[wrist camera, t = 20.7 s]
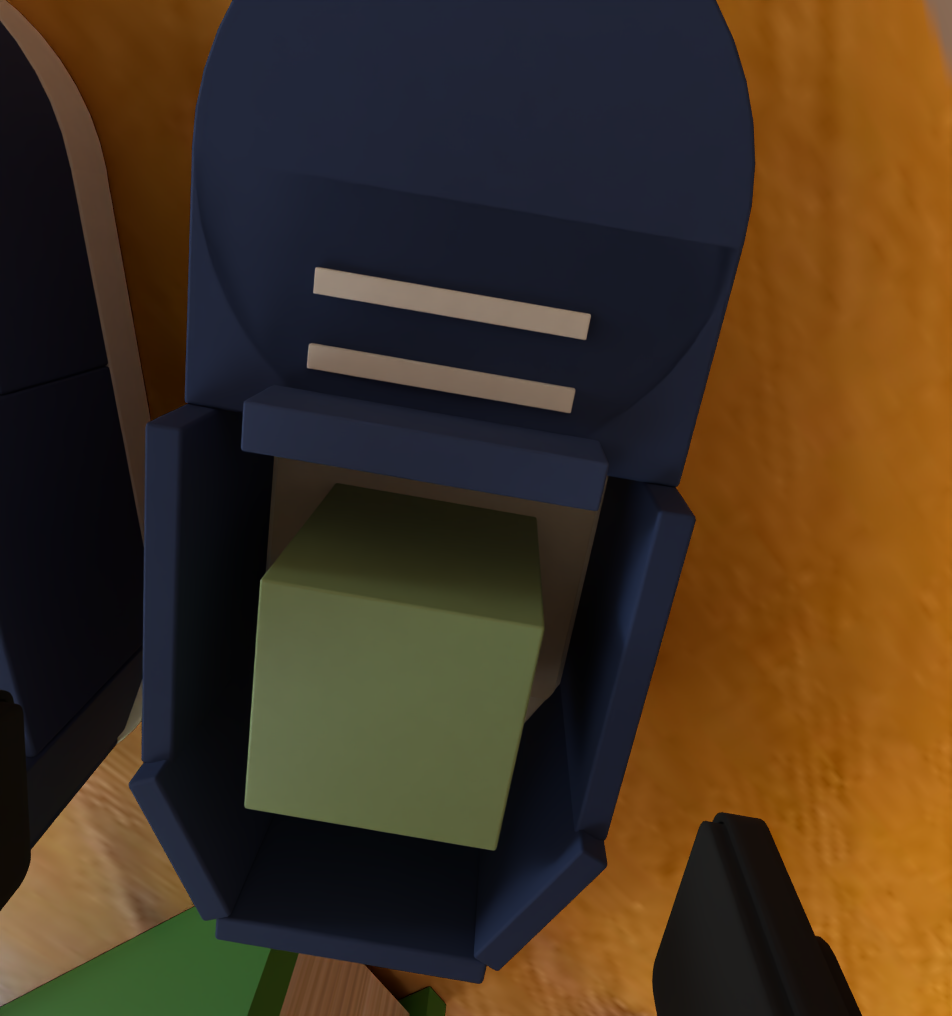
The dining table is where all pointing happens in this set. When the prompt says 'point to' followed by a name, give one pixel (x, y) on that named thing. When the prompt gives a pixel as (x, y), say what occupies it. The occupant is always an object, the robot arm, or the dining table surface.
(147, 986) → the hardback book
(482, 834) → the green block
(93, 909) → the dining table surface
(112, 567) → the sneaker
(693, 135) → the sneaker
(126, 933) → the dining table surface
